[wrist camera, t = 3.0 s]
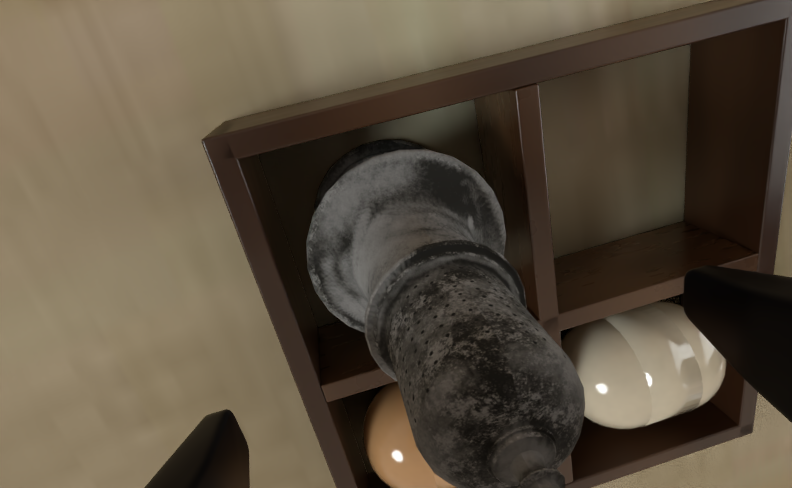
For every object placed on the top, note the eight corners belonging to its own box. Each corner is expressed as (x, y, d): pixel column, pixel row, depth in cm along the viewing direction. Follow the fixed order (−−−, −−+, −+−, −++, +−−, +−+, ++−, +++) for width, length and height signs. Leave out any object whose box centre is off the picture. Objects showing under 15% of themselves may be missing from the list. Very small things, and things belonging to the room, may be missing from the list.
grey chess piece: (320, 299, 17) (348, 715, 6) (290, 142, 15) (257, 368, 4) (470, 273, 18) (726, 603, 7) (464, 119, 16) (828, 259, 5)
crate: (709, 0, 16) (812, -14, 13) (689, 380, 23) (753, 433, 19) (222, 121, 14) (199, 139, 11) (356, 488, 21) (366, 564, 18)
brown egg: (494, 323, 19) (544, 393, 15) (506, 403, 21) (554, 484, 17) (344, 368, 19) (356, 453, 15) (370, 446, 20) (386, 541, 16)
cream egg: (670, 270, 20) (763, 323, 16) (668, 351, 22) (751, 418, 18) (531, 312, 19) (592, 378, 15) (541, 392, 21) (597, 470, 17)
